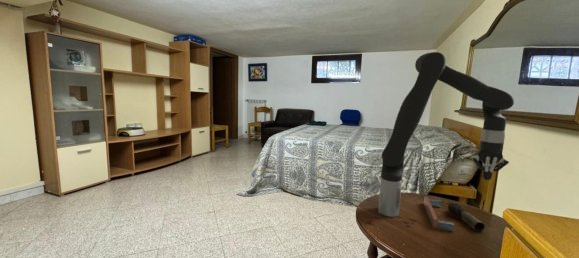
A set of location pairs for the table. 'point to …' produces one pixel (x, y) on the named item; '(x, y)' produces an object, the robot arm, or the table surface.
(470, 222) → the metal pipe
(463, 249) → the table surface
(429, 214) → the brown pull handle
